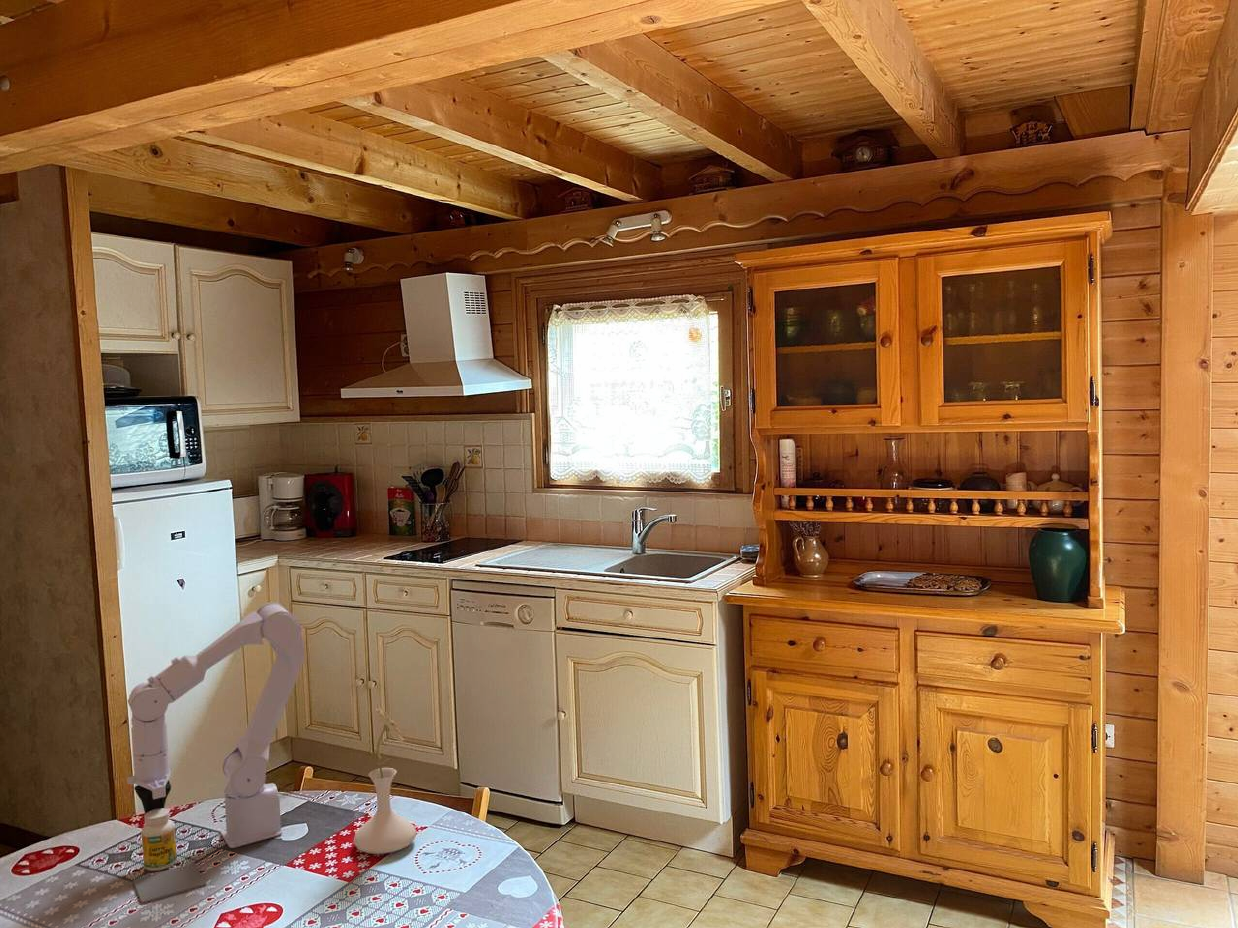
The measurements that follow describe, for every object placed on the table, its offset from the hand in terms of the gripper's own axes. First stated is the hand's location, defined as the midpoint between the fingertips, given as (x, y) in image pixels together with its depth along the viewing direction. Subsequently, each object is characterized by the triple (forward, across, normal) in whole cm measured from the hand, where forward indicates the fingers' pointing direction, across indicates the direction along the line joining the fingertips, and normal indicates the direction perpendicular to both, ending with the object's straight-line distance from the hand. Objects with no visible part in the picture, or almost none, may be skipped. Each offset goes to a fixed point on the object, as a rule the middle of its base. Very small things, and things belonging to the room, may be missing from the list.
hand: (154, 823), depth 175 cm
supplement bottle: (+7, +3, 0) cm, 7 cm away
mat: (+6, +12, 0) cm, 13 cm away
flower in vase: (+7, +20, +36) cm, 41 cm away
